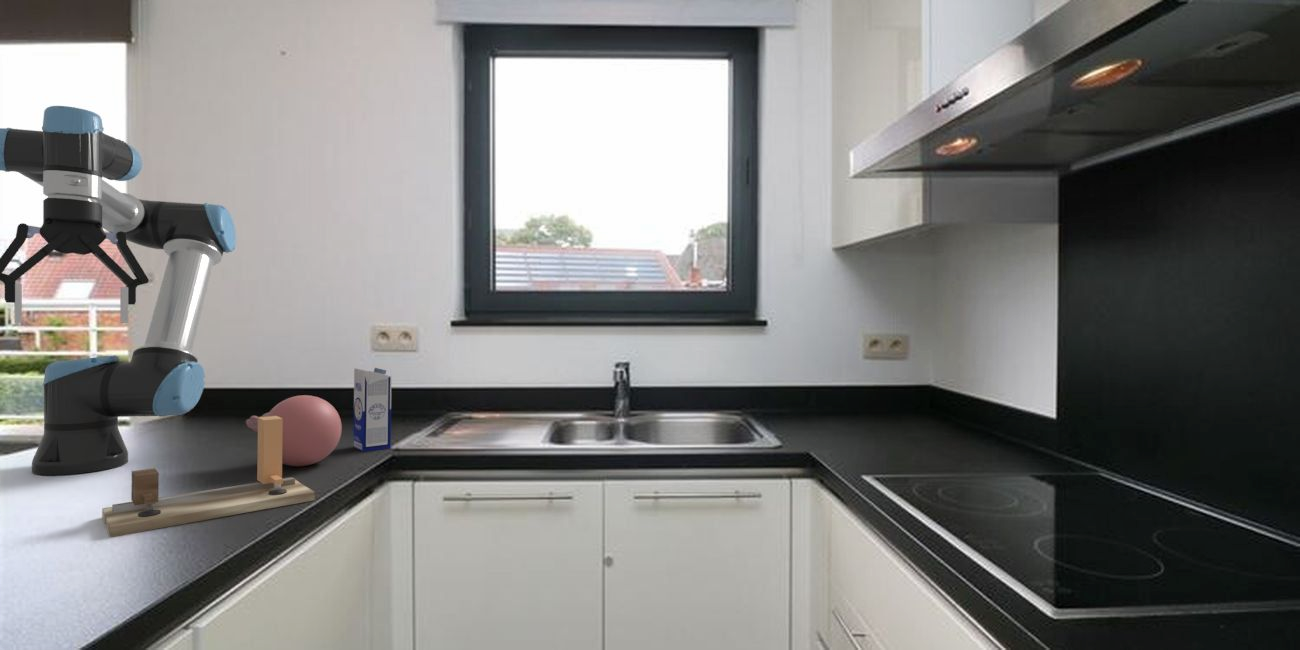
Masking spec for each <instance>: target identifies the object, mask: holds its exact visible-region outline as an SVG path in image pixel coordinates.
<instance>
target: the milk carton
mask: <svg viewBox="0 0 1300 650" xmlns="http://www.w3.org/2000/svg"><path fill="white" fill-rule="evenodd" d="M353 370H354V371H353V376H354V377H353V437H352V438H353V445H352V446H353V448H355V450H356V449H357V450H358V451H361V452H372V451H379V450H386V449H387V450H388V449H391V446H392V445H391V442H392V441H391V437H392V375H388V374H386V373H387V369H386V370H385V369H382V368H379V367H374V369H373V371H372V370H366V369H361V368H354V369H353Z"/></svg>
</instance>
